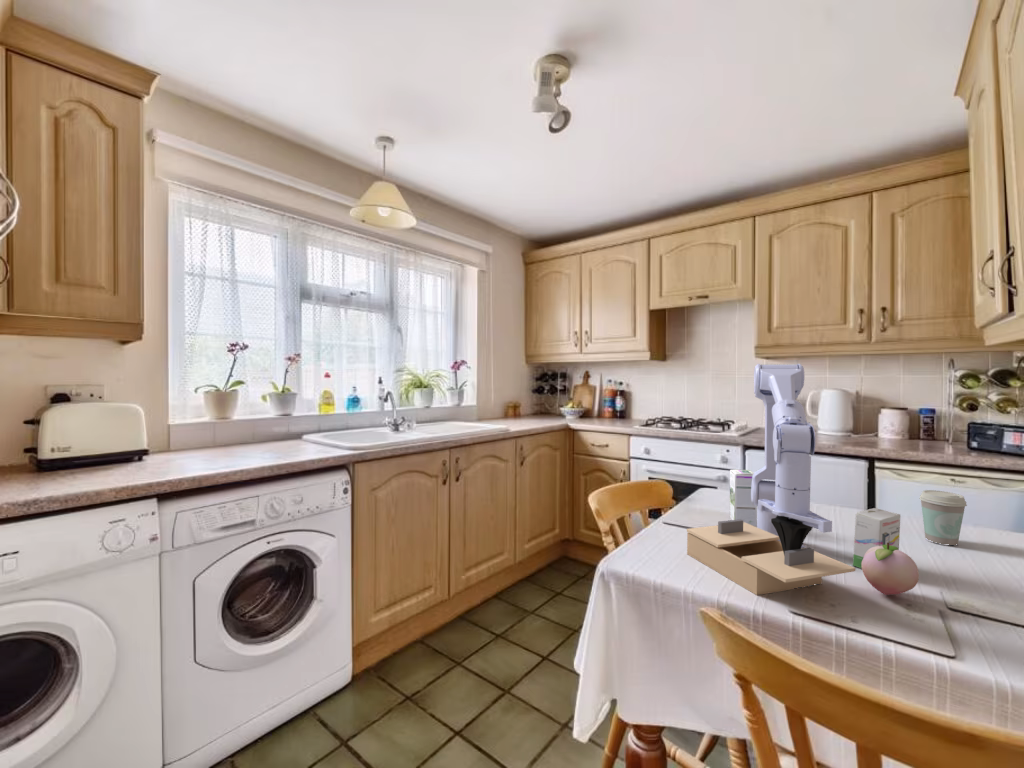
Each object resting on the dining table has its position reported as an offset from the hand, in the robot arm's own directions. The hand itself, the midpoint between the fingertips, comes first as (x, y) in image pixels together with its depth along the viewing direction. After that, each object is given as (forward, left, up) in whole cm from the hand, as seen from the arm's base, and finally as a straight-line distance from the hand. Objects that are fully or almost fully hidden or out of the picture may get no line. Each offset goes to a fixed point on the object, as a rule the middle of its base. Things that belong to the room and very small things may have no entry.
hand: (791, 556), depth 87 cm
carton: (0, -10, -6) cm, 12 cm away
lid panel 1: (0, -15, -1) cm, 15 cm away
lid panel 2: (0, +1, -1) cm, 2 cm away
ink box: (-27, -3, -7) cm, 28 cm away
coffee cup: (-58, -9, -7) cm, 59 cm away
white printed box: (-21, -34, -7) cm, 41 cm away
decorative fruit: (-16, +7, -7) cm, 19 cm away
